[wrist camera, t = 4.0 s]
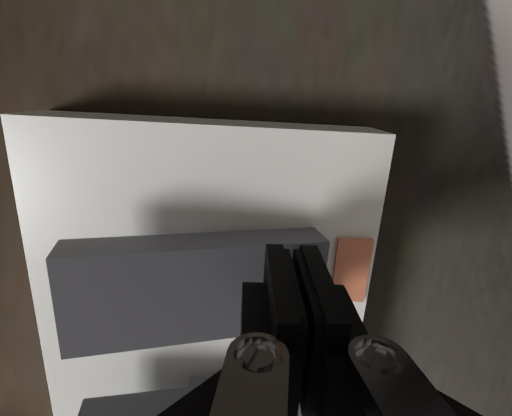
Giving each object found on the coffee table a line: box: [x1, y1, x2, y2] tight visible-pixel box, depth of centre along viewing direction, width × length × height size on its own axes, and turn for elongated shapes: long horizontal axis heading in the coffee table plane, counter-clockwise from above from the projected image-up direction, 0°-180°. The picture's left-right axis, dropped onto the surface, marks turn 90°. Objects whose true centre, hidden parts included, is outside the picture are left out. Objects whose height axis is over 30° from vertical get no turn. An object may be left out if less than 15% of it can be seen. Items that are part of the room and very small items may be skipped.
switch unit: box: [0, 110, 396, 416], centre depth 17 cm, size 22×14×4 cm, turn 177°
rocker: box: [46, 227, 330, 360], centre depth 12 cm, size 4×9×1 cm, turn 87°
